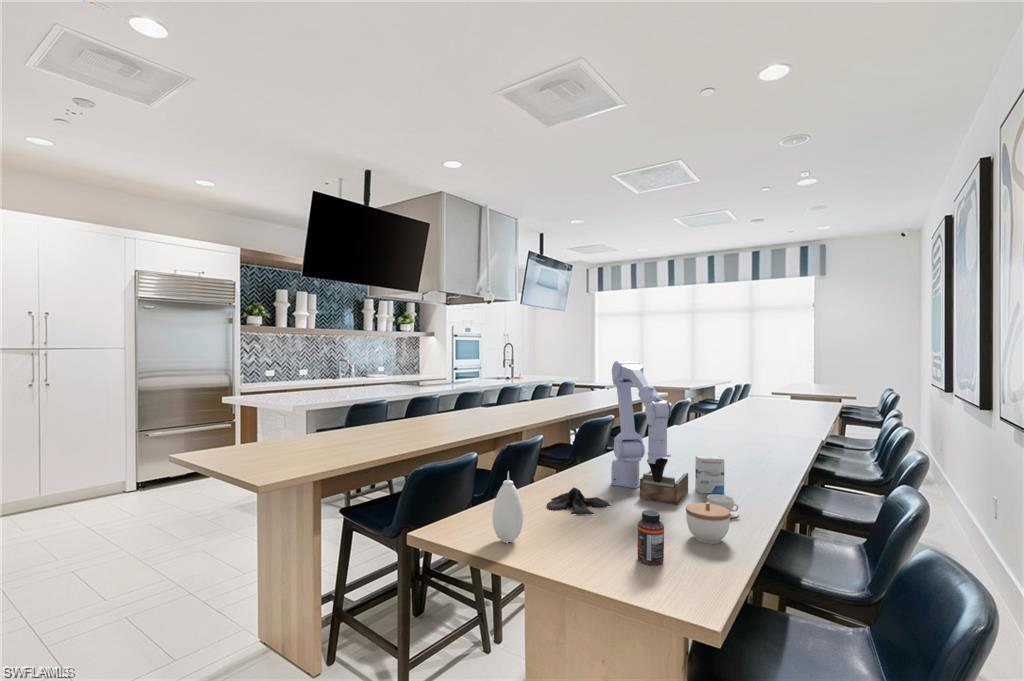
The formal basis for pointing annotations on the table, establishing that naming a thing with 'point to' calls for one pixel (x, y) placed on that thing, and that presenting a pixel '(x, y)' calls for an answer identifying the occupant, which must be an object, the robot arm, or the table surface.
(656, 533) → the supplement bottle
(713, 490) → the ink box
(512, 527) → the air blower bulb
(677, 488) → the walnut box
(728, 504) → the teacup
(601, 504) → the cloth
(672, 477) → the lid
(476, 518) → the table surface
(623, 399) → the robot arm
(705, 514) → the lidded jar
